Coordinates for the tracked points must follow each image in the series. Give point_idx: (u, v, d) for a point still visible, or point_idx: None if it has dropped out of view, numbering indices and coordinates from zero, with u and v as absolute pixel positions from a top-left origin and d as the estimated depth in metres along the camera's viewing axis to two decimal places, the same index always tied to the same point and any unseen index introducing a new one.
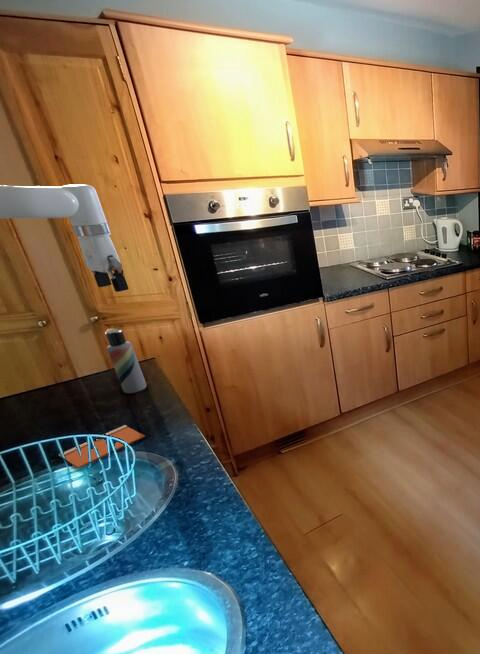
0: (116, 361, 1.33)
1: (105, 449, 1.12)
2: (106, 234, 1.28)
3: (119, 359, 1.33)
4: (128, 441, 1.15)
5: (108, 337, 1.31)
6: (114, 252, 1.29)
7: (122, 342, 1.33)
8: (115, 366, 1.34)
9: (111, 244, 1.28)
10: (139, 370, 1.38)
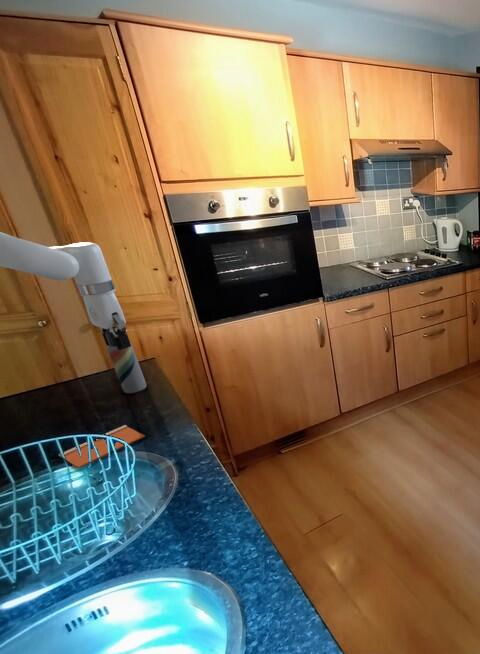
0: (116, 361, 1.33)
1: (105, 449, 1.12)
2: (111, 291, 1.27)
3: (119, 359, 1.33)
4: (128, 441, 1.15)
5: (108, 337, 1.31)
6: (119, 309, 1.28)
7: None
8: (115, 366, 1.34)
9: (116, 301, 1.27)
10: (139, 370, 1.38)
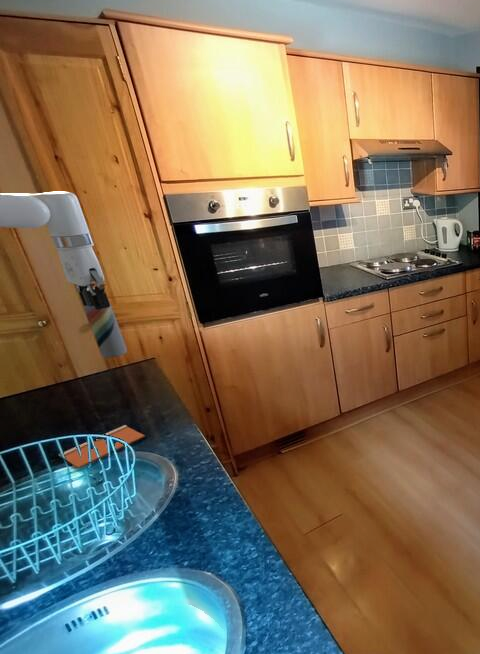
0: (94, 322, 1.24)
1: (105, 449, 1.12)
2: (88, 245, 1.19)
3: (97, 320, 1.24)
4: (128, 441, 1.15)
5: (85, 296, 1.22)
6: (97, 265, 1.20)
7: None
8: (93, 328, 1.25)
9: (94, 256, 1.19)
10: (119, 333, 1.29)
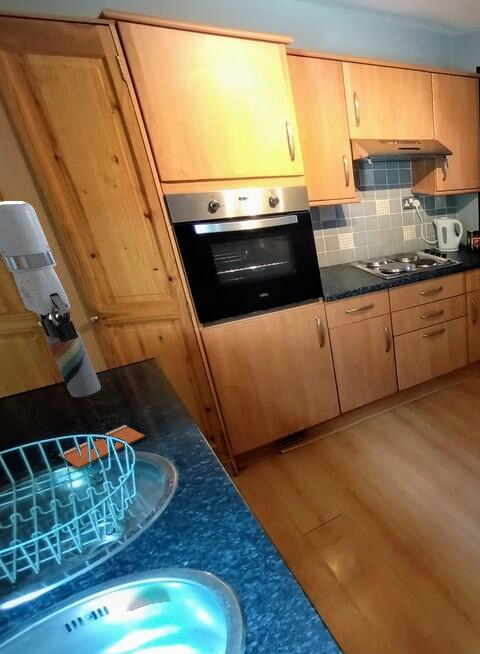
0: (59, 356, 1.04)
1: (105, 449, 1.12)
2: (49, 266, 0.98)
3: (63, 354, 1.04)
4: (128, 441, 1.15)
5: (47, 325, 1.02)
6: (60, 289, 0.99)
7: None
8: (58, 363, 1.05)
9: (55, 279, 0.99)
10: (90, 368, 1.09)
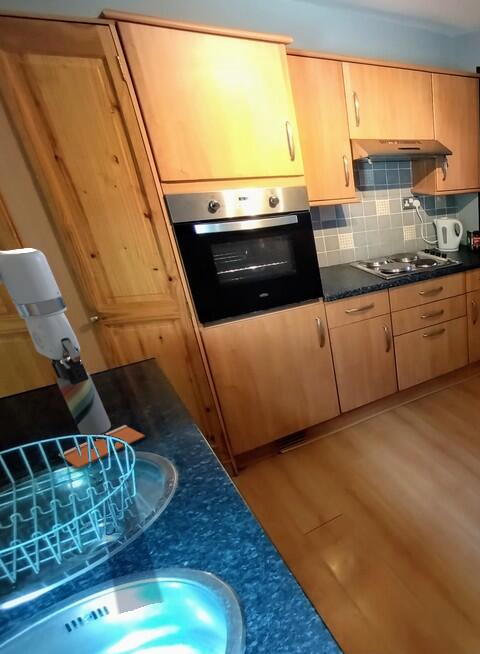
0: (70, 398, 1.05)
1: (105, 449, 1.12)
2: (60, 311, 0.99)
3: (73, 396, 1.05)
4: (128, 441, 1.15)
5: (58, 368, 1.03)
6: (71, 333, 1.00)
7: None
8: (69, 404, 1.06)
9: (66, 323, 1.00)
10: (101, 408, 1.10)
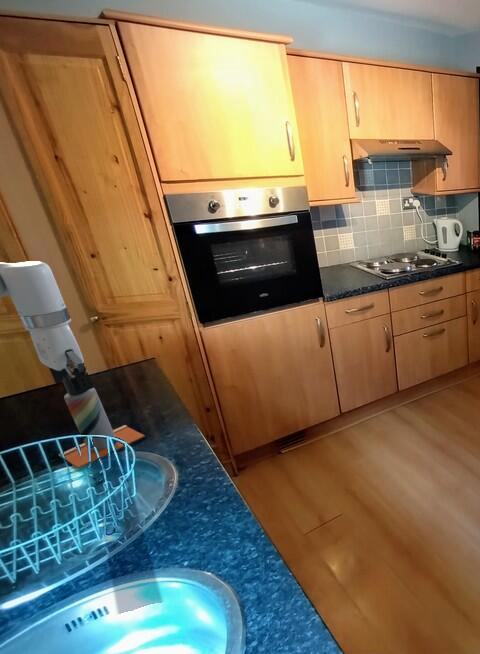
0: (76, 413, 1.07)
1: (105, 449, 1.12)
2: (64, 323, 1.00)
3: (80, 411, 1.07)
4: (128, 441, 1.15)
5: (65, 385, 1.05)
6: (75, 345, 1.01)
7: None
8: (75, 419, 1.07)
9: (70, 335, 1.01)
10: (106, 422, 1.12)
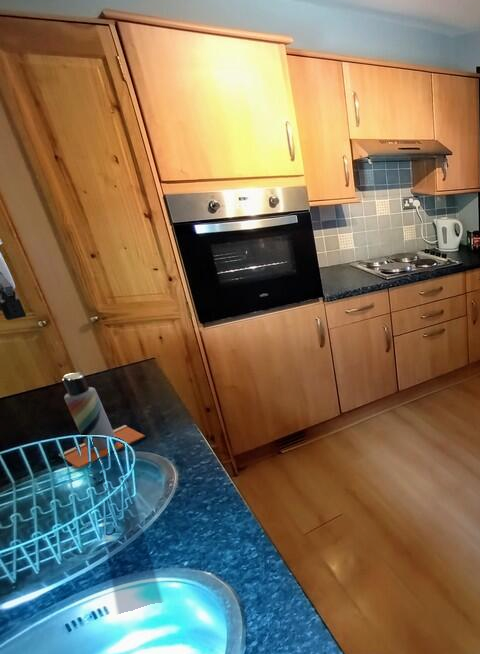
0: (76, 413, 1.07)
1: (105, 449, 1.12)
2: None
3: (80, 411, 1.07)
4: (128, 441, 1.15)
5: (65, 384, 1.05)
6: (4, 268, 0.98)
7: (84, 390, 1.07)
8: (75, 419, 1.07)
9: None
10: (106, 422, 1.12)
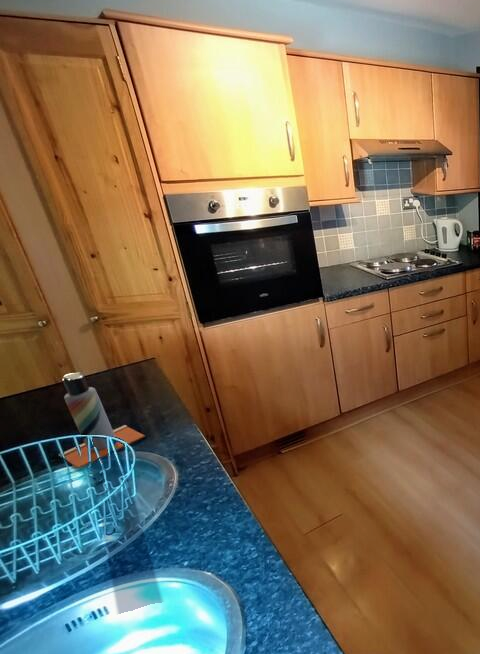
0: (76, 413, 1.07)
1: (105, 449, 1.12)
2: None
3: (80, 411, 1.07)
4: (128, 441, 1.15)
5: (65, 384, 1.05)
6: None
7: (84, 390, 1.07)
8: (75, 419, 1.07)
9: None
10: (106, 422, 1.12)
